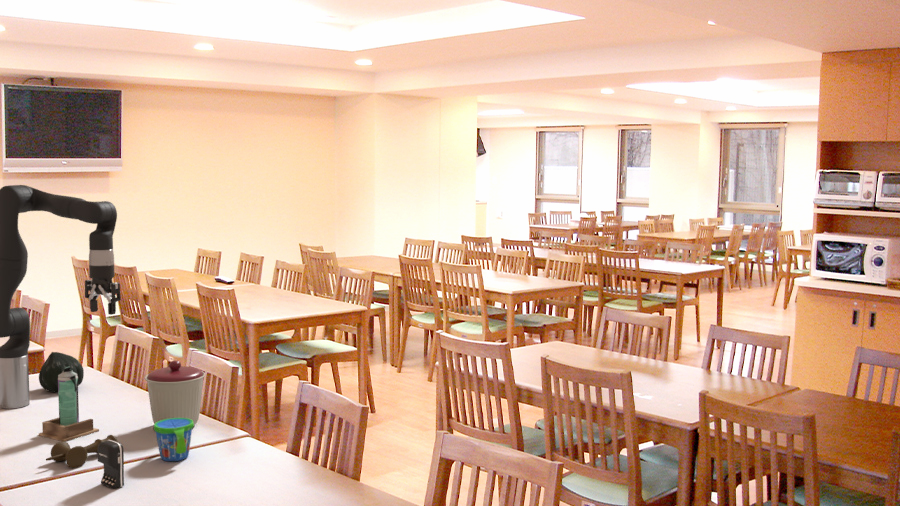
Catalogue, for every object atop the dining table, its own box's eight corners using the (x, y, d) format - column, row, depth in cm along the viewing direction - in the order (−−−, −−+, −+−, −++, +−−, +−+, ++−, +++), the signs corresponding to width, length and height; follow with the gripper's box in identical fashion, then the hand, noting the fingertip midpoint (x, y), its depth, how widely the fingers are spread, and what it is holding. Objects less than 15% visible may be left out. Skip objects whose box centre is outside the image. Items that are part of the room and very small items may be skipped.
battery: (96, 484, 211) (94, 441, 210) (109, 480, 214) (108, 437, 213) (111, 491, 207) (110, 447, 206) (125, 486, 210) (124, 443, 209)
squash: (97, 373, 303) (76, 341, 306) (63, 384, 290) (41, 350, 292) (78, 395, 309) (57, 363, 311) (44, 406, 295) (22, 373, 298)
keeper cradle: (38, 435, 249) (38, 422, 249) (73, 425, 260) (73, 412, 260) (64, 441, 244) (64, 428, 243) (99, 431, 254) (98, 418, 254)
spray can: (82, 428, 254) (80, 365, 252) (73, 434, 249) (71, 369, 247) (66, 427, 255) (64, 364, 253) (55, 433, 250) (53, 368, 248)
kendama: (124, 456, 234) (55, 474, 218) (105, 450, 240) (36, 467, 224) (123, 435, 234) (54, 452, 218) (104, 429, 239) (36, 445, 223)
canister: (159, 439, 247) (158, 370, 245) (136, 424, 261) (135, 359, 259) (215, 427, 259) (214, 361, 257) (191, 414, 273) (190, 352, 271)
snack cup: (151, 451, 236) (150, 417, 235) (189, 447, 241) (189, 413, 240) (158, 469, 222) (157, 433, 221) (198, 464, 227) (197, 428, 226)
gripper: (76, 263, 266) (78, 312, 267) (106, 265, 259) (108, 316, 260) (96, 261, 272) (98, 309, 274) (126, 263, 265) (127, 313, 267)
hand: (103, 313), depth 267 cm, fingers open, 8 cm apart
